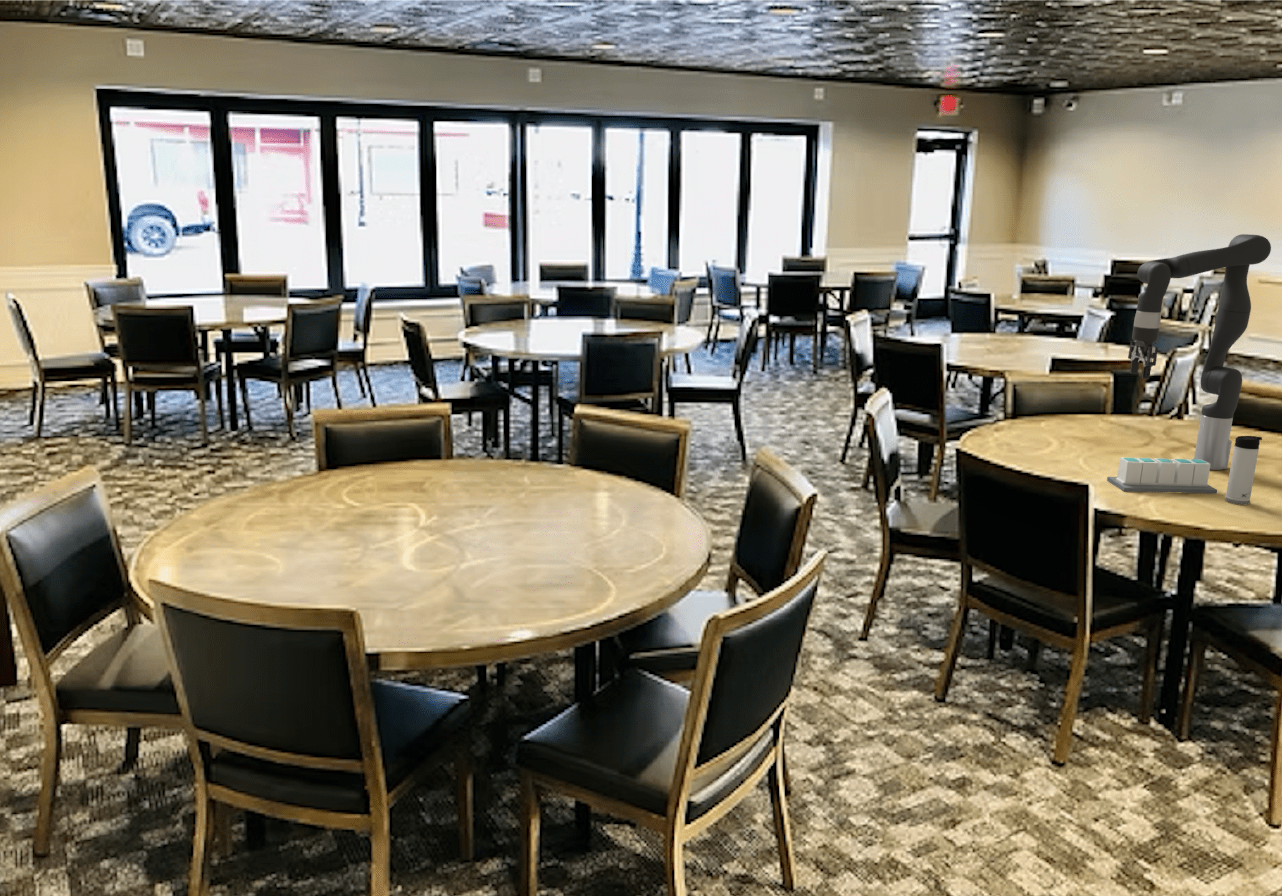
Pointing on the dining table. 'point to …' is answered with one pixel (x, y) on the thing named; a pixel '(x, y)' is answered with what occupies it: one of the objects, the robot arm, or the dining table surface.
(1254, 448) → the travel mug
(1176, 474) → the rail panel
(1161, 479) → the block
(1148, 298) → the robot arm
